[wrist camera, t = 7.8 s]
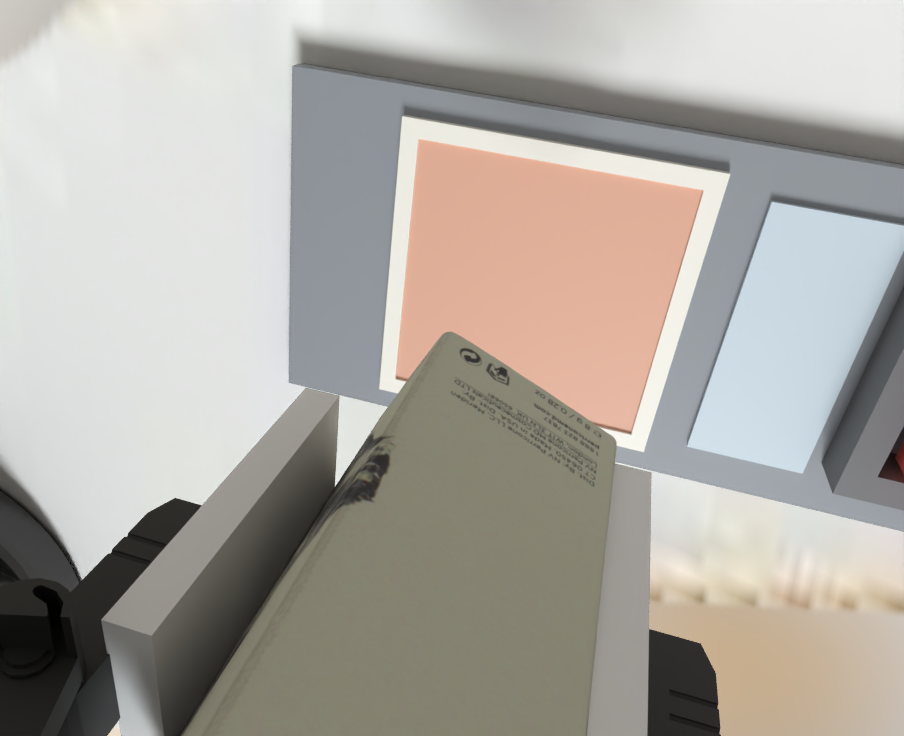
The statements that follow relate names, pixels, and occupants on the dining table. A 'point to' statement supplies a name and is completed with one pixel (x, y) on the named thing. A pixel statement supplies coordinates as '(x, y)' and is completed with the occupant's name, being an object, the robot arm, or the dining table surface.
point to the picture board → (610, 279)
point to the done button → (901, 457)
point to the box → (438, 574)
